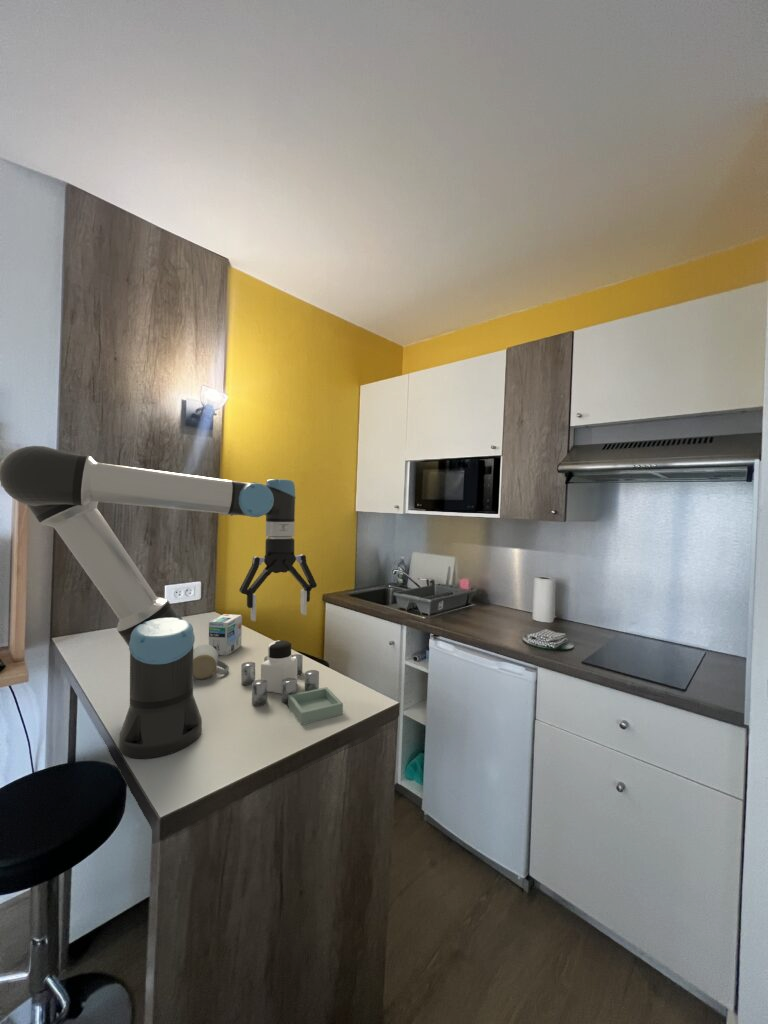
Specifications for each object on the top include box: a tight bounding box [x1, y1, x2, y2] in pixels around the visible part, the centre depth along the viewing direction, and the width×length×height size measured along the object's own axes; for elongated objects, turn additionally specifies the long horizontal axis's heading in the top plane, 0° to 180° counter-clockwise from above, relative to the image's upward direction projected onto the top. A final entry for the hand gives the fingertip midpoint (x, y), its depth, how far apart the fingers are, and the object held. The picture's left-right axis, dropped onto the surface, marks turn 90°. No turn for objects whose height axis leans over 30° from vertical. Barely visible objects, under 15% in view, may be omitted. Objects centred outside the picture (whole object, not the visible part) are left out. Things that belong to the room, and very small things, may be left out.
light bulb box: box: [208, 613, 243, 656], centre depth 141 cm, size 11×7×11 cm, turn 173°
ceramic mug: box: [193, 644, 230, 680], centre depth 120 cm, size 11×8×8 cm
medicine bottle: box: [260, 639, 298, 695], centre depth 112 cm, size 7×7×12 cm
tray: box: [287, 687, 344, 726], centre depth 100 cm, size 10×10×3 cm
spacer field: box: [240, 653, 320, 707], centre depth 112 cm, size 17×22×5 cm
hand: (279, 617), depth 112 cm, fingers open, 13 cm apart
